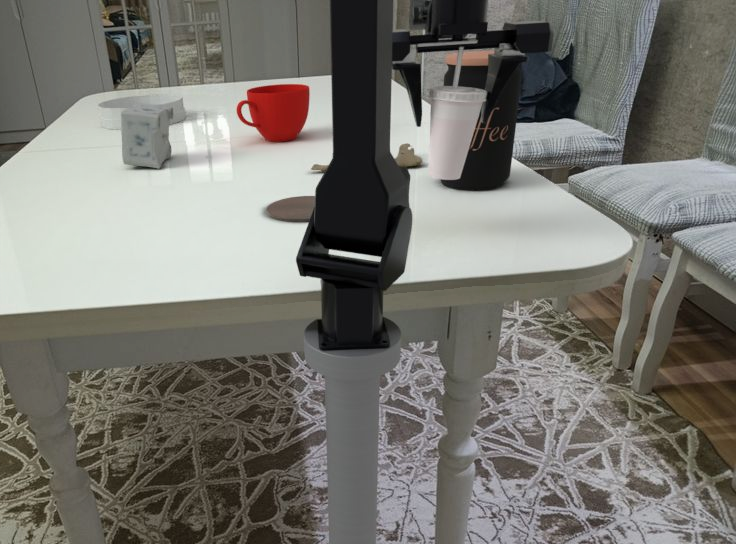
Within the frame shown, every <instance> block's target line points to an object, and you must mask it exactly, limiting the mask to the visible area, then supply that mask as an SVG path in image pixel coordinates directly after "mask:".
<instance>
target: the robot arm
mask: <svg viewBox="0 0 736 544" xmlns="http://www.w3.org/2000/svg"><path fill="white" fill-rule="evenodd" d="M488 8H489V0H409V14H408V28H409V30H408V29H405V28H399V29H397V28H396V29H394V0H329V20H330V21H329V22H330V23H329V25H330V30H329V31H330V73H331V74H330V75H331V77H330V79H331V122H332V125H331V127H332V128H331V129H332V157H331V160H330V161H329V163H328V164H327V165H328V167H327V169H326V171H325V172H323V174H322V176H321V178H320V180H319V181H318V183H317V185H316V187H315V189H314V191H315V192H314V196H315V206H314V209H313V212H312V215H311V218H310V220H309V221H308V222H307V226H306V229H305V231H304V234H303V237H302V240H301V243H300V246H299V249H298V250H297V254H296V257H295V263H296V266H297V270H298V274H299V276H300V277H303V278H307V277H308V278H309V277H310V278H315V279H320V302H321V318H316V319H317V325H318V340H319V349H320V350H322V351H332V350H358V349H383V348H389V347H390V339H389V336H388V332H387V328H386V324H385V321H384V317H385V316H384V315H383V314H384V292H386V291H387V290H388V289H389V288H390V287H392V285H393V284H394V283H395V282H396V281H397V280H399V278H401V277H402V275H403V274H404V273H405V271H406V265H407V260H408V252H409V248H410V247H409V246H410V240H411V234H412V228H413V211H412V208H411V207H410V185H411V174H410V172H409V169H408V166H407V167H406V166H398V164H397V163H396V161H395V159H394V158H395V157H394V155H393V154H392V151H391V122H392V81H393V80H392V79H393V78H392V76H393V75H392V74H393V71H398V72H399V74H400V77H401V78H402V82H403V84H404V86H405V89H406V92H407V95H408V99H409V104H410V107H411V110H412V114H413V118H414V123H415V126H416V127H417V128H421V127H422V119H423V98H422V97H423V96H422V94H423V93H422V64H421V63H420V62H419V61H417V57H418V54H421V53H422V54H423V53H439V52H440V53H441V52H452V51H455V52H456V51H458V50H460V49H459V48H460V47H464V49H463V51H473V50H485V49H486V50H488V49H493V50H494V53H493V54H488V75H487V80H486V86H485V91H487V96H486V101H485V102H483V104H482V109H481V122H482V123H486V122H487V121H488V119H489V117H490V114H491V112H492V110H493V108H494V106H495V104H496V102H497V100H498V98H499V96H500V94H501V92H502V90H503V89H504V87H505V85H506V84H507V82H508V80H509V79H510V77H511V76H512V74H513V73H514V71H515V69H516V68H517V66H518V65H519V64H520V63H528V62H529V59H530V57H529V56H528V55H525V54H535V53H536V54H537V53H550V52H552V49H553V42H554V35H555V34H554V33H555V32H554V28H553V26H552V24H551V23H550V22H549V21H545V20H544V21H543V20H537V19H536V20H535V19H534V20H524V21H522V20H521V21H508V22H507V21H506V22H505V21H504V23H503V26H502V29H491V30H490V29H488V27H489V26H488V25H489V21H487V18H488V10H489V9H488ZM411 31H424V34H412V35H411ZM468 35H475V37H468ZM520 65H521V64H520ZM520 65H519V66H520ZM330 251H336V252H343V253H351V254H357V255H363V256H371V257H377V258H380V261H377V260H370V259H364V258H357V257H351V256H344V255H337V254H330Z"/></svg>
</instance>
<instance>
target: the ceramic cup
mask: <svg viewBox="0 0 736 544" xmlns="http://www.w3.org/2000/svg"><path fill="white" fill-rule="evenodd" d="M310 91H311V90H310V86H309V85H306V84H302V83H301V84H299V83H280V84H269V85H260V86H255V87H251V88H249V89H247V90H246V99H244V100H240V101H239V102H238V103H237V105H236V115H237V117H238V119H239V120H240V122H241V123H243V125H246V126H248V127H252V128H255V129H256V131H257V132H258V133H259V134H260V135H261V136H262V137H263V138H264V140H265V141H266V142H271V143H272V142H273V143H281V142H289V141H293V140H296V139H297V137H298V135H299V134H301V132H302V130H303V129H304V127H305V125H306V123H307V122H306V121H307V119H308V115H309V109H310V97H311V96H310V94H311V93H310ZM244 105H247V106H248V111H249V115H250V119H251V121H252V122H251V121H248V120H247V119H245V117H244V116H243V113H242V110H243V109H242V108H243V106H244Z"/></svg>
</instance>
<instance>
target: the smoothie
mask: <svg viewBox="0 0 736 544" xmlns="http://www.w3.org/2000/svg"><path fill="white" fill-rule="evenodd" d="M459 49H460V50H457V53H458V55H457V62H456V68H455V74H454V80H453V86H443V85H435V86H434V85H433V86H431V87H429V93H428V98H430V112H429V113H430V115H429V118H430V119H429V146H428V147H429V148H428V151H429V153H428V176H429V177H430V178H433V179H436V180H440V179H443V180H456V179H459V178H460V176H461V173H462V170H463V166H464V163H465V160H466V157H467V153H468V150H469V147H470V143H471V140H472V137H473V133H474V130H475V127H476V124H477V120H478V117H479V114H480V110H481V107H482V104H483V102H485V101H486V96H487V91H485V90H482V89H477V88H471V87H459V86H458V81H459V75H460V69H461V63H462V57H463V52H464V50H463V49H464V47H460V48H459Z"/></svg>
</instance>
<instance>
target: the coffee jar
mask: <svg viewBox="0 0 736 544" xmlns="http://www.w3.org/2000/svg"><path fill="white" fill-rule="evenodd" d="M493 53H494V49H489V50H488V49H486V50H485V49H484V50H467V51H463V57H462V63H461V69H460V75H459V81H458V86H459V87H471V88H477V89H482V90H485V86H486V80H487V75H488V54H493ZM457 55H458V52H453V53H449V54H447V55H446V56H445V64H446V65H447V71H446V72H445V73H444V76H443V85H442V86H453V80H454V74H455V68H456V62H457ZM520 66H521V63H520V64H519V65H518V66H517V68H516V69H515V71H514V73H513V74H512V76H511V77H510V79H509V80H508V82H507V84H506V85H505V87H504V89H503V90H502V92H501V94H500V96H499V98H498V100H497V102H496V104H495V106H494V108H493V110H492V112H491V114H490V117H489V119H488V121H487V122H486V123H482V122H481V110H480V114H479V117H478V120H477V124H476V127H475V130H474V133H473V137H472V140H471V143H470V147H469V150H468V153H467V157H466V160H465V163H464V166H463V170H462V173H461V176H460V178H459V179H456V180H443V179H439V181H440V182H441V184H442V185H443V186H445V187H447V188H450V189H454V190H460V191H461V190H462V191H488V190H494V189H497V188H500V187H502V186H504V185H505V184H506V182H507V181H508V180H509V178H510V176H511V168H512V161H513V153H514V145H515V137H516V129H517V121H518V112H519V103H520V96H521V88H522V81H523V79H522V78H523V71H522V69H521V67H520ZM481 109H482V107H481Z"/></svg>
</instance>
